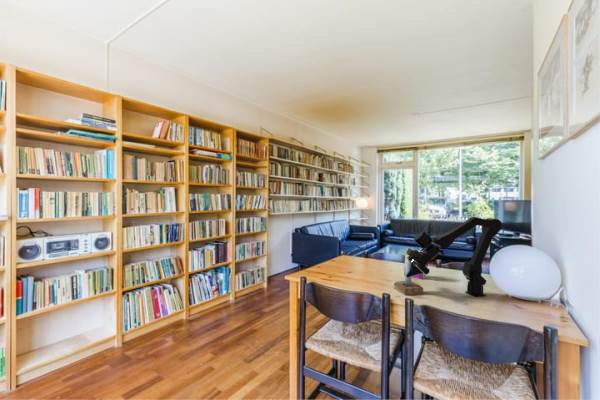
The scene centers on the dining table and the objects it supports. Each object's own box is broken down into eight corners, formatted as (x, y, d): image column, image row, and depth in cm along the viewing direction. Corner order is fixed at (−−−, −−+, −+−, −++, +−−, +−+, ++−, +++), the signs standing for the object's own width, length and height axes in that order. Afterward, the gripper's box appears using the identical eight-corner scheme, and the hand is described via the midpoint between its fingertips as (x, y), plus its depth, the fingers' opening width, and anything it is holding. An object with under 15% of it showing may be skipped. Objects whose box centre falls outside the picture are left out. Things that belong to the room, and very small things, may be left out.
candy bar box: (404, 276, 170) (404, 249, 170) (407, 274, 174) (407, 248, 174) (422, 280, 163) (423, 252, 162) (426, 278, 166) (426, 251, 166)
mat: (410, 281, 161) (410, 280, 161) (421, 286, 151) (421, 285, 151) (394, 282, 159) (394, 281, 159) (404, 287, 149) (404, 287, 149)
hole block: (411, 288, 149) (411, 281, 149) (423, 294, 139) (423, 287, 139) (394, 289, 147) (394, 282, 147) (405, 296, 137) (405, 288, 137)
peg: (407, 286, 145) (407, 261, 145) (412, 288, 142) (412, 262, 142) (403, 287, 143) (404, 262, 143) (408, 289, 141) (409, 263, 141)
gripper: (411, 240, 151) (390, 260, 153) (422, 246, 133) (398, 269, 134) (426, 255, 151) (405, 274, 152) (439, 263, 132) (415, 285, 133)
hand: (405, 275), depth 143 cm, fingers closed on peg, 3 cm apart
